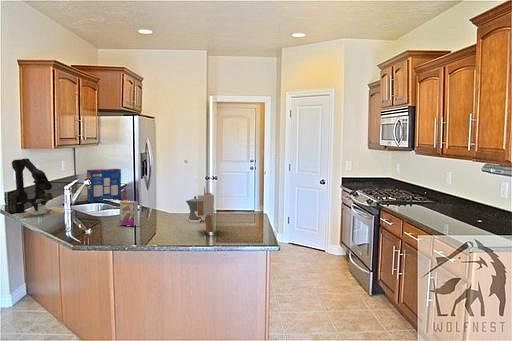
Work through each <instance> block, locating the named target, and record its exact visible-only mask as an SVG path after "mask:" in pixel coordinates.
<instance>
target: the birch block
mask: <svg viewBox="0 0 512 341" xmlns="http://www.w3.org/2000/svg"><path fill="white" fill-rule="evenodd" d="M64 208H65V207H60V206H53V207H47V208H45V212H44V214H45V215H53V216H56V215H62V214H65V213H64Z"/></svg>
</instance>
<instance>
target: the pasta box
mask: <svg viewBox="0 0 512 341" xmlns="http://www.w3.org/2000/svg"><path fill="white" fill-rule="evenodd" d="M87 179H89V180H90V182H91V185H89V186H86V188H87V189H86V191H87V192H86V194H87V195H86V197H87V199H86V200H87V202H90V203H95V202H96V201H98V202H101V201H100V200H103V199H113V200H112V201H117V200H122V169H121V168H100V169H94V168H93V169H87V170H86V180H87ZM96 203H97V202H96Z"/></svg>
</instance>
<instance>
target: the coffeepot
mask: <svg viewBox="0 0 512 341" xmlns="http://www.w3.org/2000/svg"><path fill="white" fill-rule="evenodd" d="M185 202H186V203H187V205H188V206H189V208H188V209H189V216H188V220H189V219H190V220H199V219H201V220H202V217H197V216H196V214H195V211H198V198H197V195H196V196H194V197H193V199H188V200H185Z"/></svg>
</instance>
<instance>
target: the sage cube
mask: <svg viewBox="0 0 512 341" xmlns="http://www.w3.org/2000/svg"><path fill="white" fill-rule="evenodd" d="M45 209H46V205H41V204H38V211H36V210H35V209H34V212H35V213H42V214H43V213H45Z"/></svg>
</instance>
